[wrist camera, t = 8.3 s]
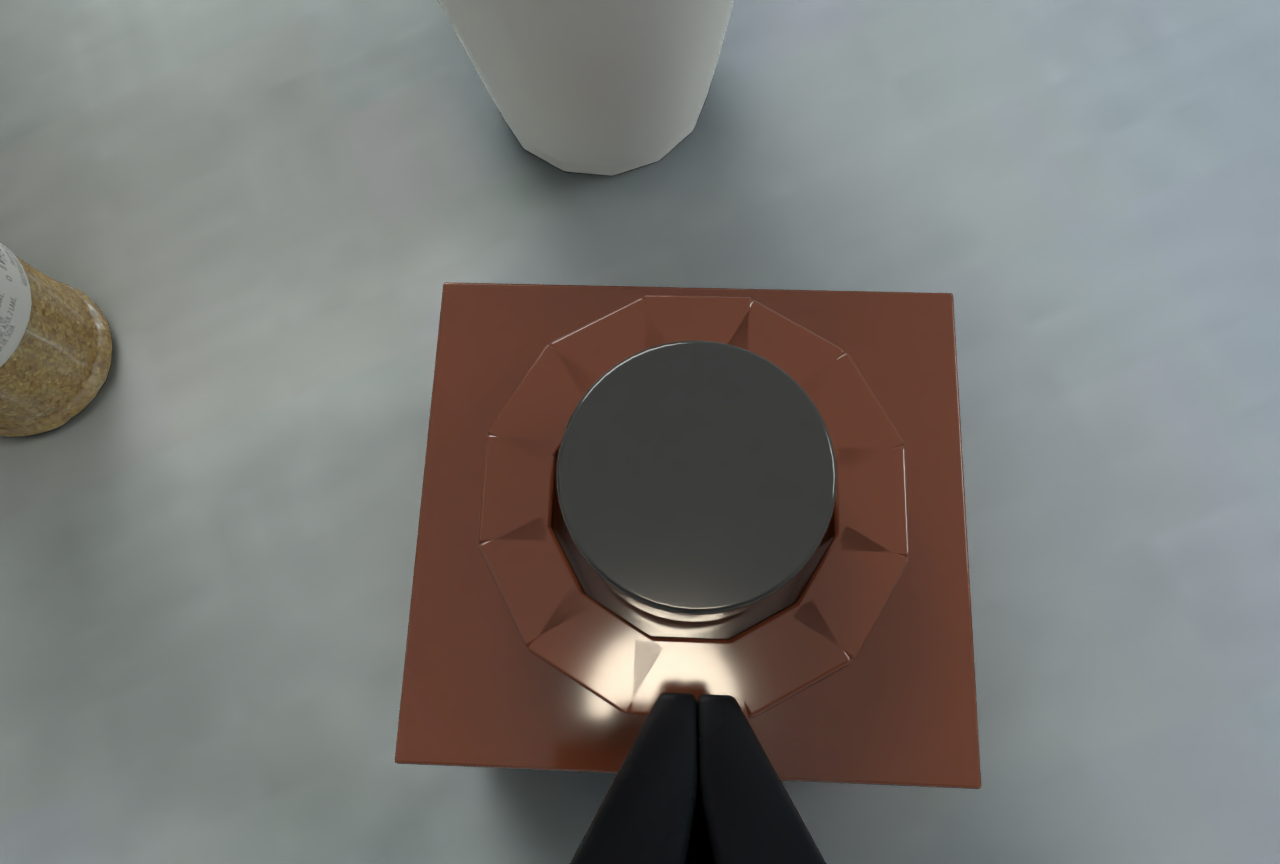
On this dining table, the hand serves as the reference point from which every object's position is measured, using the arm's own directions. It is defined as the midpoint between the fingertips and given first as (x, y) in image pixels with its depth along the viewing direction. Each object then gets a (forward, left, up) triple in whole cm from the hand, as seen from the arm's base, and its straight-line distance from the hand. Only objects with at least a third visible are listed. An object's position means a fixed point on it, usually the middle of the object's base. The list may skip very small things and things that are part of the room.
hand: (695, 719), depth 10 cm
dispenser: (+1, +3, -12) cm, 12 cm away
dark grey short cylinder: (+1, +3, -4) cm, 5 cm away
